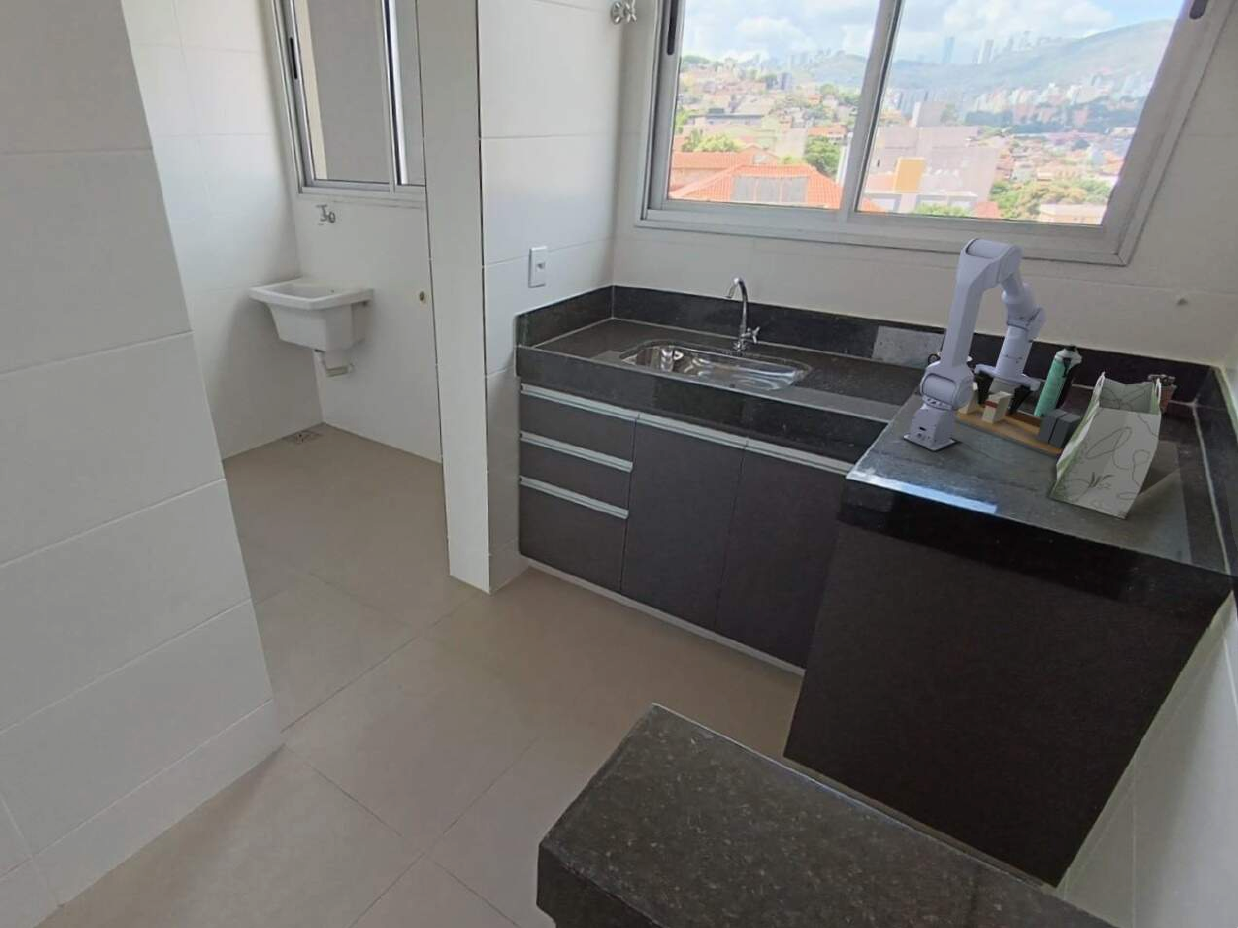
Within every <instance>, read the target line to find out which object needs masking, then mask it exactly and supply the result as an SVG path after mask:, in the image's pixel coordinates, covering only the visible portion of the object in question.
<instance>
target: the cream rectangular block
mask: <svg viewBox="0 0 1238 928" xmlns="http://www.w3.org/2000/svg"><path fill="white" fill-rule="evenodd" d="M974 383H975V384H973V389H974V392H973V396H972V398H971V400H970V401H969V403H968V404H967V405H966V406H964V407H963V408H961V409H959V410H958V412H960V413H963V414H969V413H972V412H975V411H977V410H979V407H980V405H979V404H978V388H977V383H976V382H974Z"/></svg>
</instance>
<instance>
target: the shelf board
mask: <svg viewBox="0 0 1238 928" xmlns="http://www.w3.org/2000/svg"><path fill="white" fill-rule="evenodd" d="M987 400H988V398H986V401H985V403H984V404H982V405H980V407H979V410H977V411H975V412H972V413H969V414H963V413H960V412H958V413H957V416H956V419H959V420H962V421H964V422H967V423H970V424H972V425H975V426H978V427H981V428H984V429H986V430H989V431H992V432H994V433H997V434H1000V435H1003V436H1005V437H1007V438H1010V439H1013V440H1017V441H1018V442H1022V443H1024V444H1027V445H1030V446H1033V447H1034V448H1038V449H1040V450H1044V451H1046V452H1049V453H1052V454H1054V455H1057V456H1058V455H1060V454H1062V453H1063V451H1064V449H1065V447H1066V446H1065V447H1062V448H1058V447H1055V446H1052V445H1049V443H1048V444H1046V443H1044V442H1041V441H1038V440H1036V437H1037V435H1038V432H1039V429H1040V426H1041V424H1042V421H1043V418H1041V417H1038V416H1035V415H1034V414H1031V413H1029V412H1025V411H1022V410H1020V409H1018V410H1017V411H1016V413H1015V414H1014V415H1012V416H1011V415H1008V414H1009V410H1010V407H1011V406H1008V408H1007V411H1006V414H1005V417H1004V419H1003V420H1000V421H997V422H995V423H992V424H991V423H988V422H985V421H982V417H983V413H984V410H985V407H986V403H987Z"/></svg>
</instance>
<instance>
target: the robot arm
mask: <svg viewBox="0 0 1238 928" xmlns="http://www.w3.org/2000/svg"><path fill="white" fill-rule="evenodd" d="M1022 252H1023V251H1022V248H1021V246H1020V245H1019V244H1010V243H1004V242H998V241H992V240H986V239H982V238H980V237H973V238H972V239H971V240H969V242H968V243H967V244H966V245H965V246H964V247H963V248H962V249H961V251H960V254H959V258H958V263H957V267H956V268H957V269H956V273H955V279H956V284H955V289H954V294H953V298H952V303H951V308H950V312H949V318H948V321H947V326H946V330H945V336H944V339H943V345H942V350H941V352H942V354H941V359H940V361H937V362H936V361H935V362H932V363H930V364H931V365H928V366H926V368H925V372H924V375H923V377H922V379H921V381H920V383H919V392H920V394H921V396H922V397H921V400H922V401H924V402H923V405H922V406H921V408H919V409H918V410H916V411H915V412H914V414H913V416H912V419H911V423H910V427H909V430H908V434H906V435H904V436H903V439H904V440H907V441H910V442H912V443H915V444H917V445H918V446H919V445H920V446H922V447H924V448H927V449H929V450H932V451H938V450H940V449H943V448H945V447H948V446H949V445H952V444H953V445H954V444H955V443H957V442H958V439H955V438H953V437H951V436H952V433H953V429H954V426H955V423H956V419H957V418H956V416H957V413H958V410H959V409H961V408H963V407H964V406H966V405H967V404H968V403H969V401H970V400H971V398H972V396H973V392H974V389H973V382H974V380H975V383H977V388H978V404H979V405H982V404H984V403H985V401H986V399H988V398H987V397H988V394H989V392H990V391H989V389H990V386H991V384H992V382H993V380H994V378H997V379H1000V380H1003V381H1006V382H1010V383H1013V384H1016V385H1019V386H1020V387H1017V388H1015V389H1014V397H1013V398H1012V402H1011V404H1010V406H1009V407H1010V410H1009V414H1008V415H1011V416H1012V415H1014V414H1015V413H1016V411H1017V410H1019V408H1020V407H1021V405H1022V404H1023V403H1024V402H1025V400H1026V399H1027V398H1028V397H1029V396H1031V394H1032V393H1034V392H1036V391H1039V388H1040V386H1041V383H1042V382H1041V381H1040V380H1036V379H1034V378H1031V377H1029V376H1027V375H1026V376H1024V375H1025V374H1024V375H1022V374H1023V371H1024V368H1025V366H1026V363H1027V360H1028V357H1029V353H1030V352H1031V348H1032V345H1033V342H1034V340H1036V339H1037V337H1038V336H1039V333H1040V331H1041V329H1042V328H1043V327H1044V325H1045V323H1046V321H1047V311H1046V310H1045V309H1044V308H1043V307H1042V306H1039V305H1038V302H1037V301H1036V297H1035V296H1034V292H1033V290H1032V286H1031V284H1028V283H1025V282H1023V278H1022V275H1021V270H1020V265H1021V263H1022V261H1023V256H1024V255H1023V253H1022ZM998 285H1000V286H1001V287H1002V289H1003V292H1002V294H1001V300H1002V302H1003V304H1004V307H1005V309H1006V310H1005V321H1004V323H1005V324H1006V325H1007V326H1008V328H1007V331H1006V333H1005V338H1004V340H1003V344H1002V347H1001V350H1000V353H999V356H998V359H997V362H996V365H995V366H991V365H986V364H982V363H979V364H976V365H975V369H974V373H973V372H972V370H971V369H970V366H969V367H968V366H967V359H968V356H969V354H970V350H971V345H972V341H973V338H974V332H975V328H976V324H977V319H978V315H979V312H980V307H981V303H982V299H983V294H984V293H985V291H986V290H989V289H994V288H996V287H997V286H998ZM974 374H977V375H976V376H975V375H974ZM974 378H975V379H974Z"/></svg>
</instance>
